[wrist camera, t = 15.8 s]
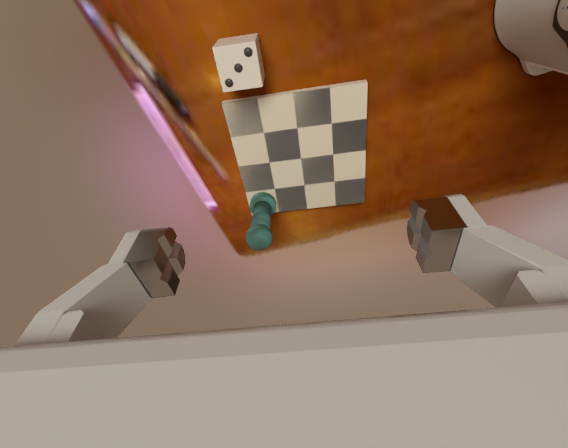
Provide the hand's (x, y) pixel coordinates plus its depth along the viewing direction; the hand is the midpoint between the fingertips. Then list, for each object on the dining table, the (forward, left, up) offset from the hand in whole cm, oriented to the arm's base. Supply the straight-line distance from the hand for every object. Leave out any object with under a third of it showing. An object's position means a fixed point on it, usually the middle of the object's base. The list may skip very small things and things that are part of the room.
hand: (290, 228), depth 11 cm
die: (+6, +2, -37) cm, 38 cm away
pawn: (+7, +24, -36) cm, 44 cm away
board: (0, +17, -37) cm, 41 cm away
